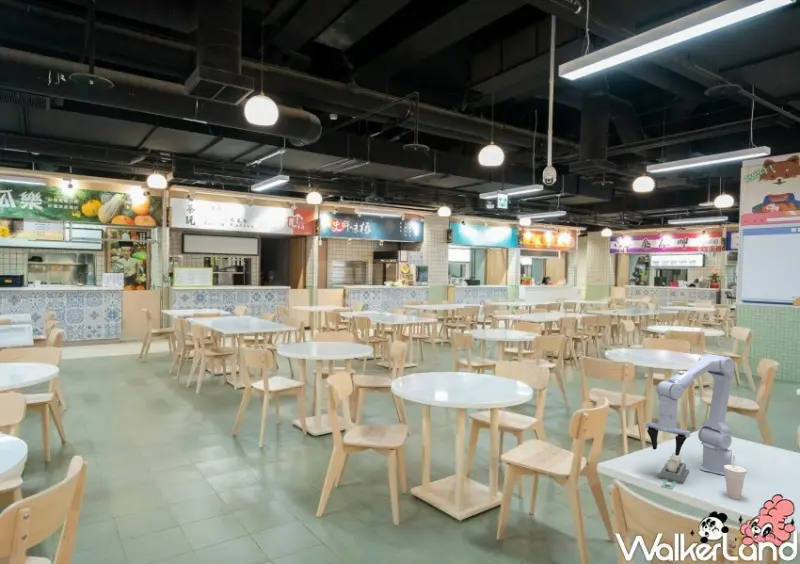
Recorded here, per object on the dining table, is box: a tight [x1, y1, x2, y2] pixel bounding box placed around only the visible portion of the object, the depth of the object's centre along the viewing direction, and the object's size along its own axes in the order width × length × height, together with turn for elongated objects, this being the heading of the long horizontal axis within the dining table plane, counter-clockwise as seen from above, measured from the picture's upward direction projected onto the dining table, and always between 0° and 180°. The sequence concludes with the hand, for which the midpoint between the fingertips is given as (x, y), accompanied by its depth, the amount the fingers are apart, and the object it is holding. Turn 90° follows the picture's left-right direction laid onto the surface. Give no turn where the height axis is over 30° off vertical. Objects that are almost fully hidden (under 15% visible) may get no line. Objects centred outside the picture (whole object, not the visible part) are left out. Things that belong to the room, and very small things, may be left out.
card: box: [660, 479, 677, 490], centre depth 177 cm, size 4×8×1 cm, turn 143°
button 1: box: [667, 459, 677, 473], centre depth 182 cm, size 3×3×4 cm
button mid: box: [669, 455, 679, 470], centre depth 185 cm, size 3×3×4 cm
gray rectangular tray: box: [657, 461, 690, 485], centre depth 185 cm, size 8×14×3 cm, turn 143°
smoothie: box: [724, 454, 747, 500], centre depth 168 cm, size 6×6×14 cm
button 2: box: [671, 452, 682, 466], centre depth 189 cm, size 3×3×4 cm
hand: (665, 451), depth 183 cm, fingers open, 7 cm apart
